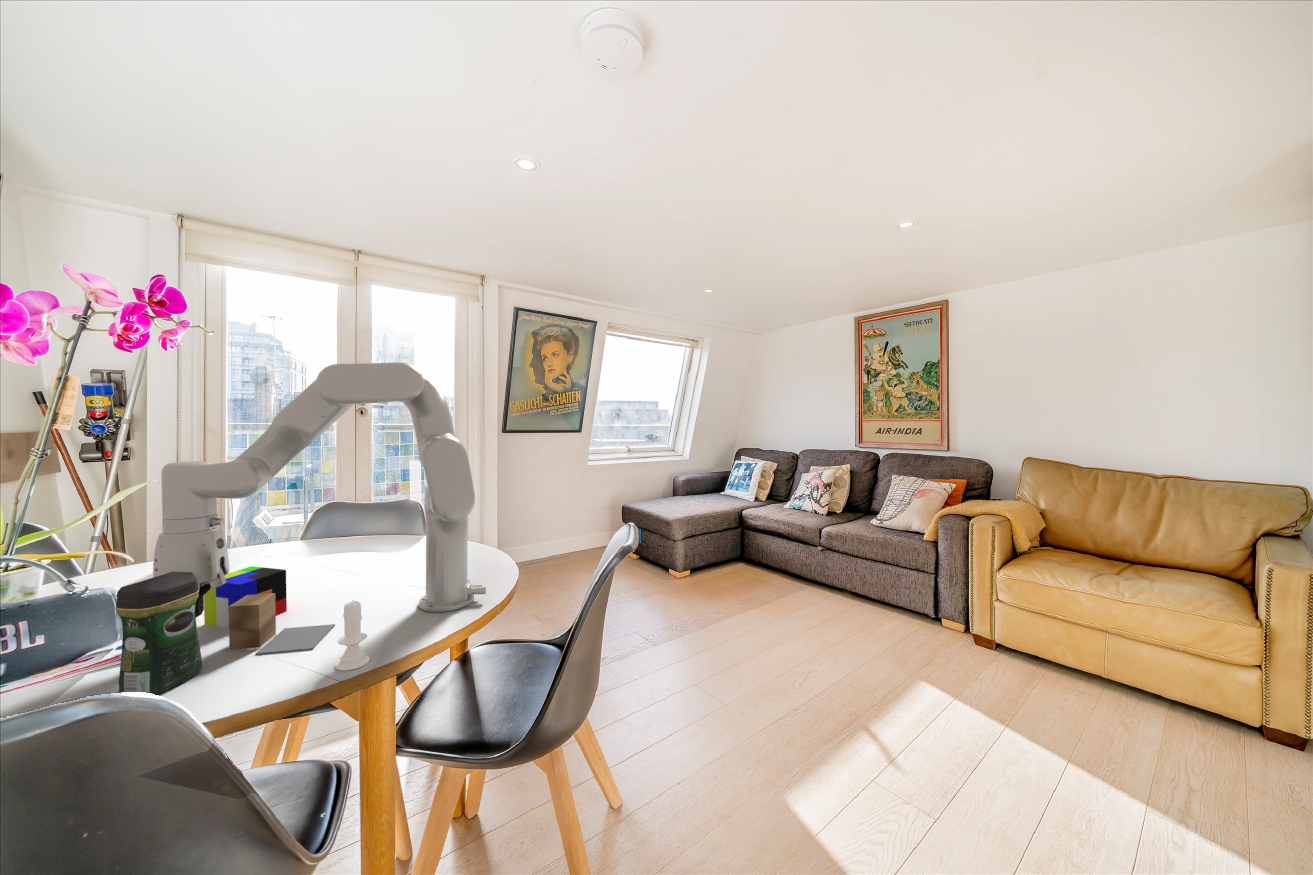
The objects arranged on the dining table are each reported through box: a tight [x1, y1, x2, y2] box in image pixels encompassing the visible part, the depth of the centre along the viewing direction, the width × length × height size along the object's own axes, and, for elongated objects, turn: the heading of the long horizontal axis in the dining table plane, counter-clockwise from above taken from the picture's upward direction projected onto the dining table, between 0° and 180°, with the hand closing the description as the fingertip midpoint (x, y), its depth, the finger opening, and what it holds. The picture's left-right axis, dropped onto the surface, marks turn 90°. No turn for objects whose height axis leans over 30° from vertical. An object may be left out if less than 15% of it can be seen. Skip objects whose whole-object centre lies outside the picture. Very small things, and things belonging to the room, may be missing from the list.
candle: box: [335, 599, 370, 672], centre depth 88 cm, size 5×5×12 cm
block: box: [228, 593, 277, 653], centre depth 94 cm, size 5×6×9 cm
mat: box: [255, 623, 336, 656], centre depth 97 cm, size 10×11×1 cm
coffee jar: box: [115, 571, 203, 695], centre depth 80 cm, size 10×8×19 cm
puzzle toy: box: [203, 566, 288, 629], centre depth 106 cm, size 10×10×10 cm
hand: (192, 617), depth 92 cm, fingers closed
